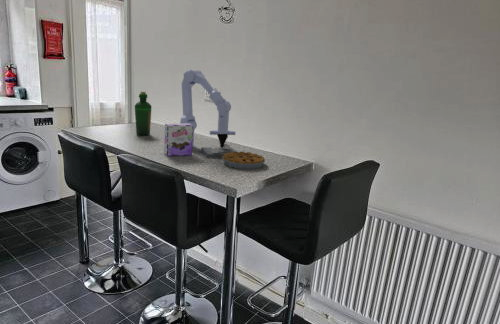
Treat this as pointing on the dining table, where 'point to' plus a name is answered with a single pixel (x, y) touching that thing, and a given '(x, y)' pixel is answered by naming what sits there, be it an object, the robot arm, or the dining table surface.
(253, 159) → the pie
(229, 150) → the control box
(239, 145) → the dining table surface
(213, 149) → the slider front
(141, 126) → the bottle
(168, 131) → the candy box
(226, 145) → the slider back
